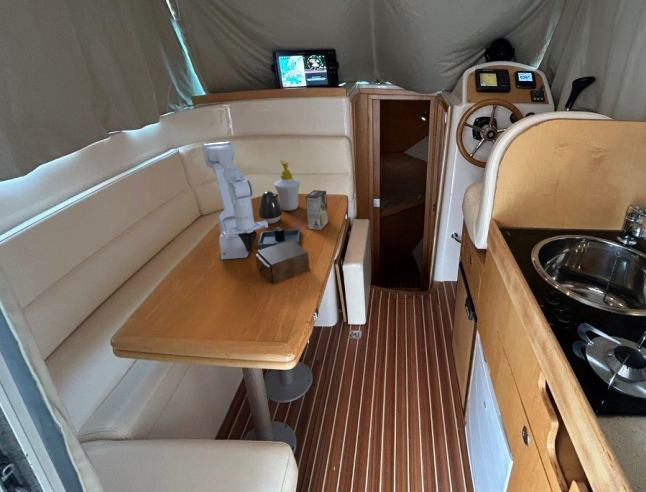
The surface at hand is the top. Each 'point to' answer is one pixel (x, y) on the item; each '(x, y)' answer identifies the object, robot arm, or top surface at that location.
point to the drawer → (264, 267)
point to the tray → (269, 240)
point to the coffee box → (317, 209)
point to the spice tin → (279, 234)
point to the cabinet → (285, 260)
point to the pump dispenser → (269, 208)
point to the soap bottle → (287, 189)
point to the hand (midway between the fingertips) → (249, 250)
